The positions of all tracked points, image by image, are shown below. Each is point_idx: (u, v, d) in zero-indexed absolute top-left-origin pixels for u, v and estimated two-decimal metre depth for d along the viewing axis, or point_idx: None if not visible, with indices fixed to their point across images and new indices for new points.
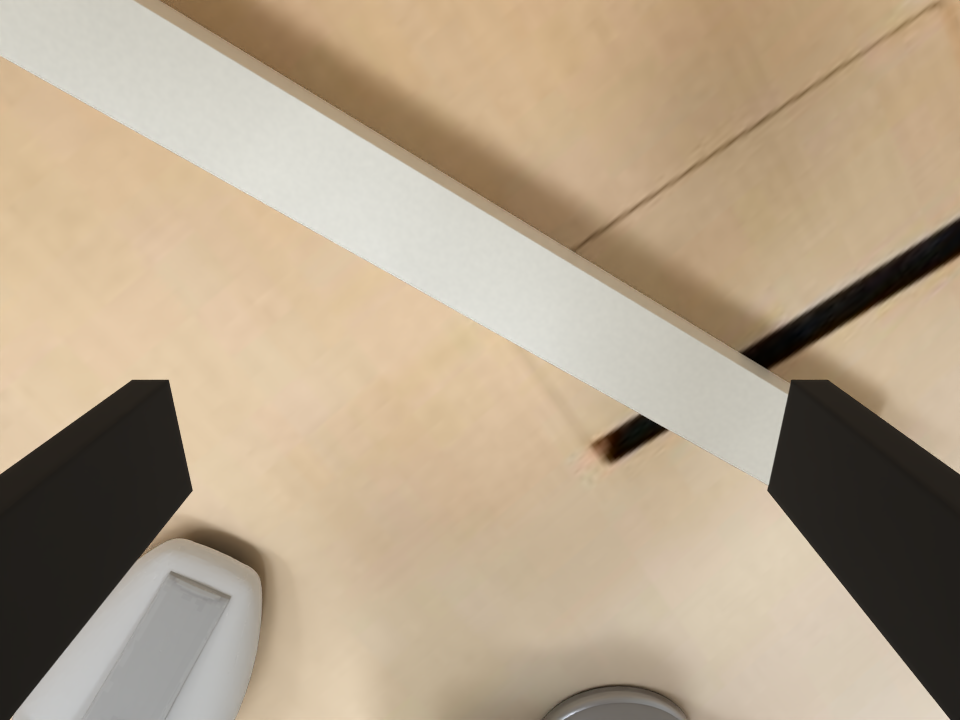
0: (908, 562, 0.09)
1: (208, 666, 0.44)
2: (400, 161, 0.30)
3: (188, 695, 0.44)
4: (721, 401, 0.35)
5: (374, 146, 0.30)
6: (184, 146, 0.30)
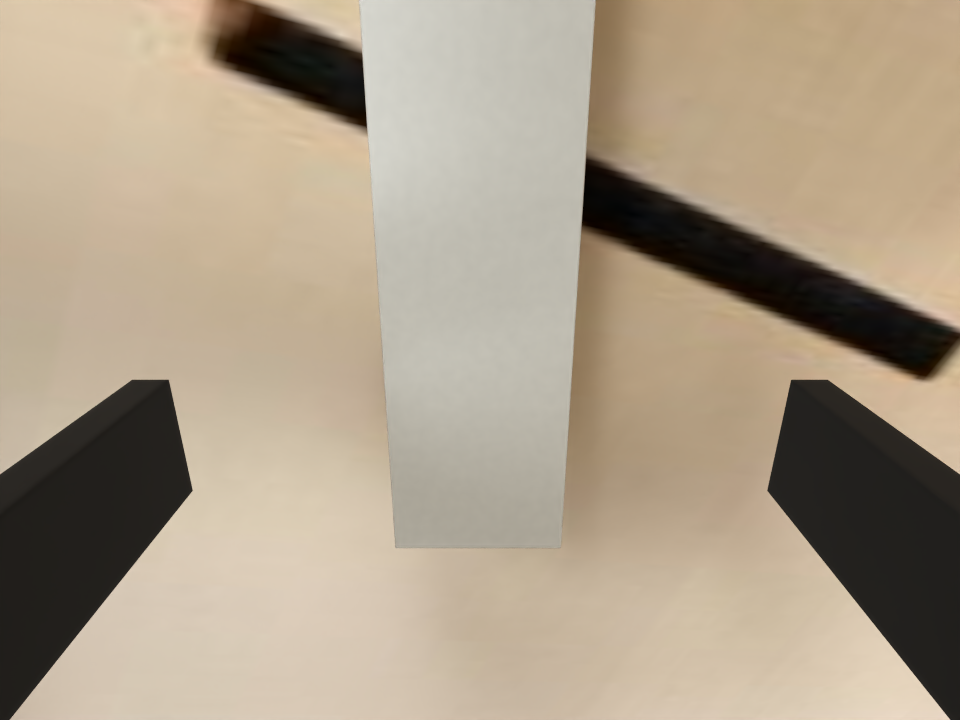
0: (908, 562, 0.09)
1: None
2: None
3: None
4: None
5: None
6: None
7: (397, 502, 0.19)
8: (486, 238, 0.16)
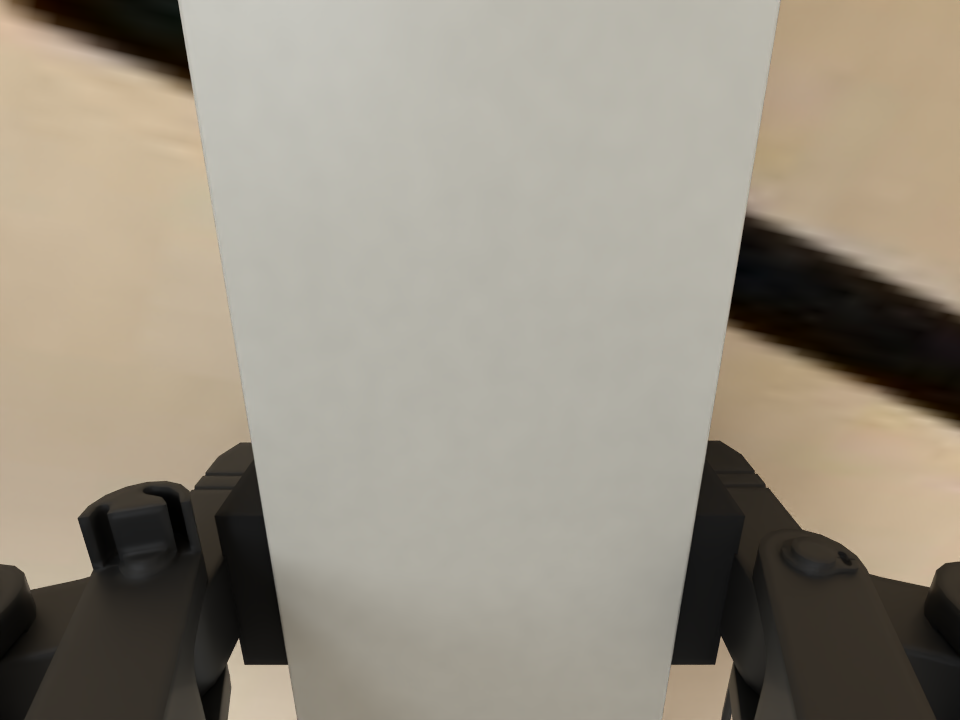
0: None
1: None
2: None
3: None
4: None
5: None
6: None
7: None
8: (498, 380, 0.07)
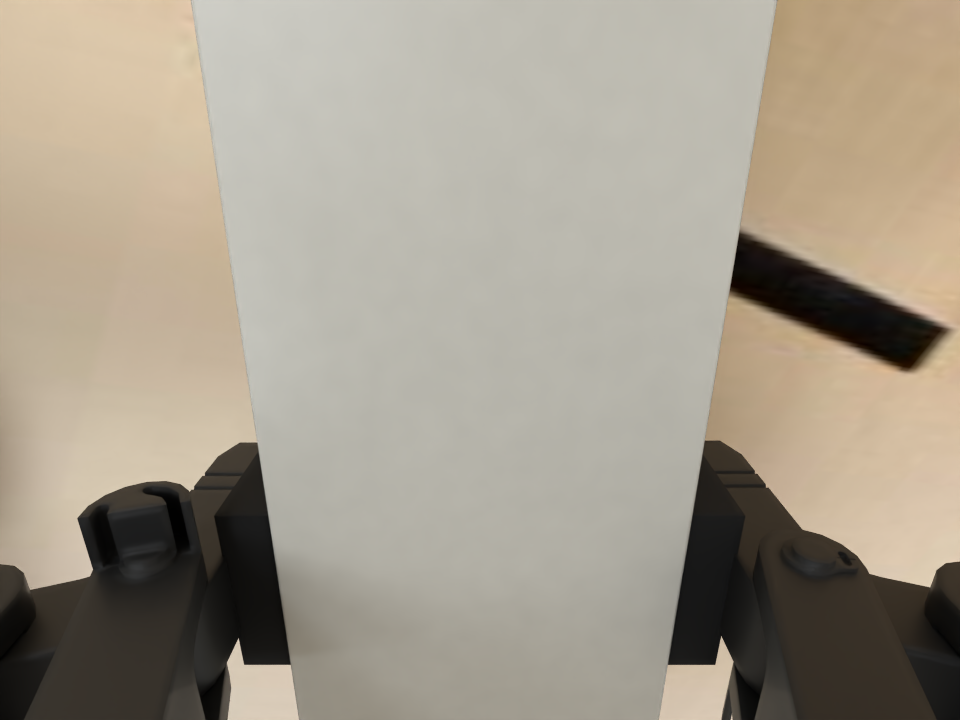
0: None
1: None
2: None
3: None
4: None
5: None
6: None
7: None
8: (500, 370, 0.07)
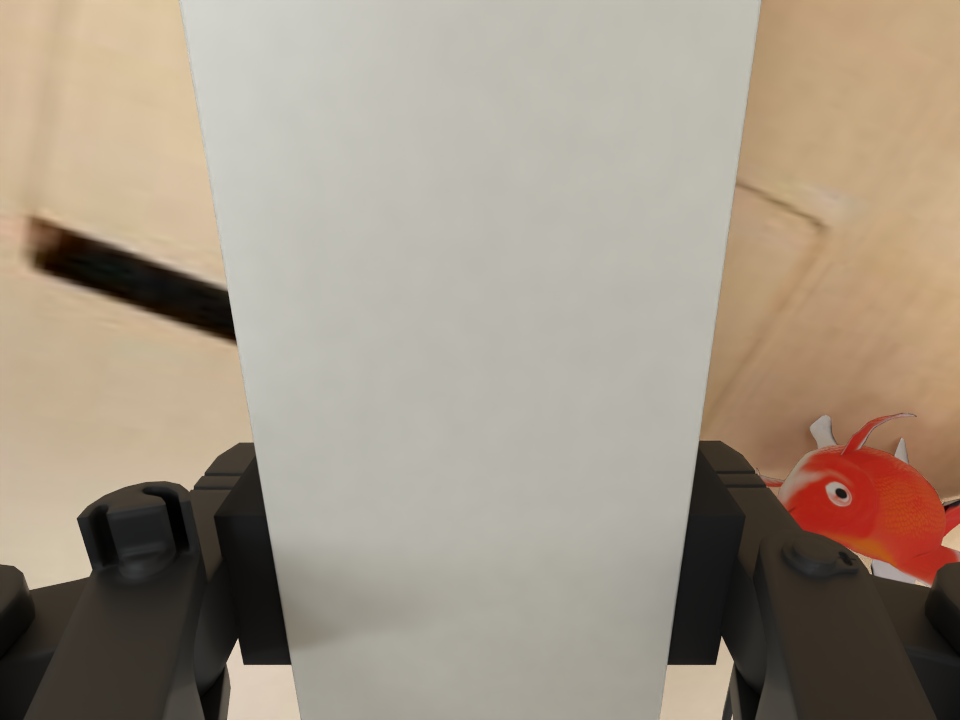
0: None
1: None
2: None
3: None
4: None
5: None
6: None
7: None
8: (494, 366, 0.07)
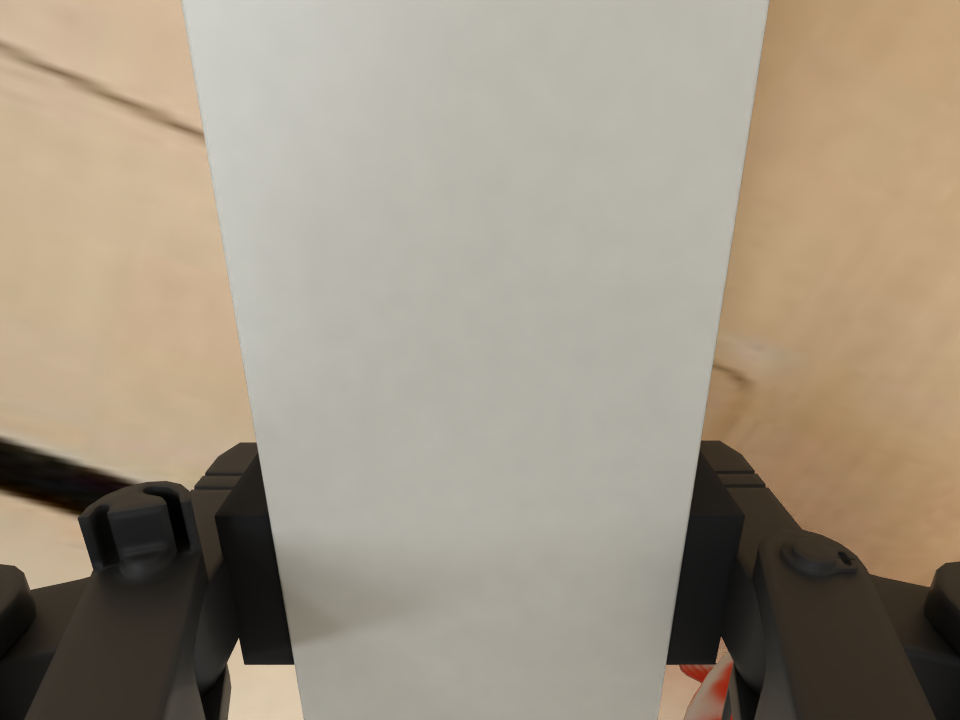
0: None
1: None
2: None
3: None
4: None
5: None
6: None
7: None
8: (497, 369, 0.07)
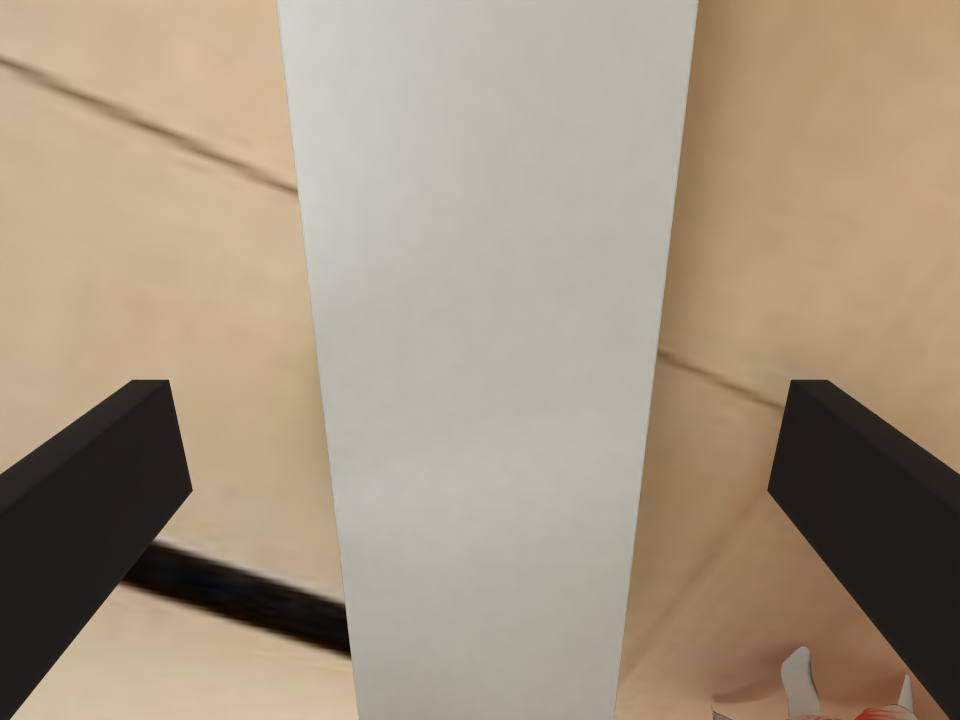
0: (908, 562, 0.09)
1: None
2: None
3: None
4: None
5: None
6: None
7: (362, 688, 0.12)
8: (500, 300, 0.09)
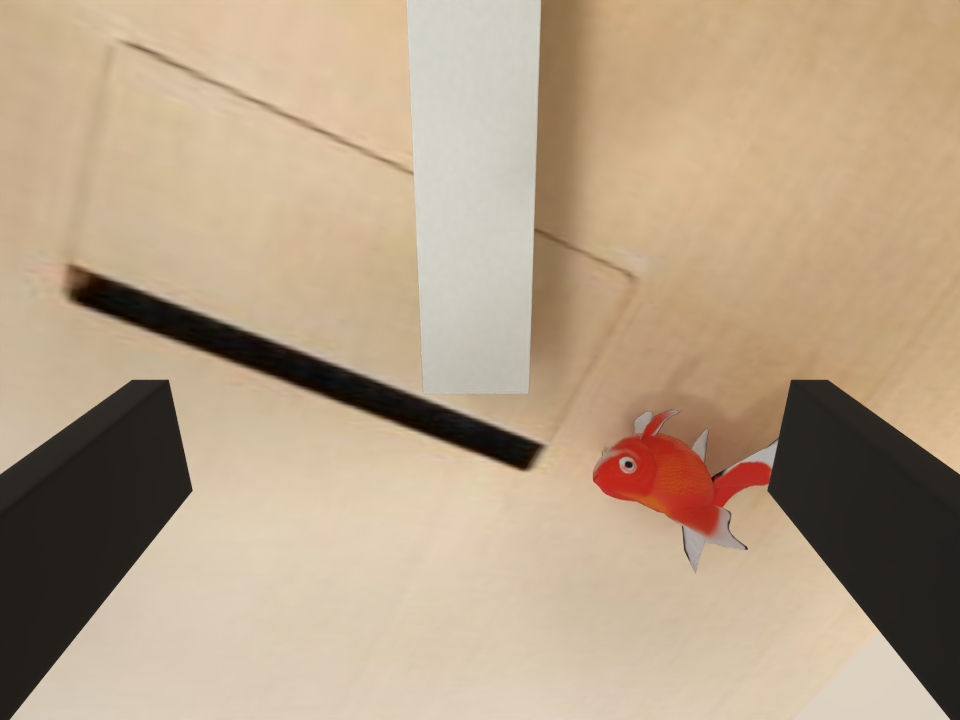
0: (908, 562, 0.09)
1: None
2: None
3: None
4: (483, 50, 0.25)
5: None
6: None
7: (425, 361, 0.30)
8: (479, 190, 0.27)
